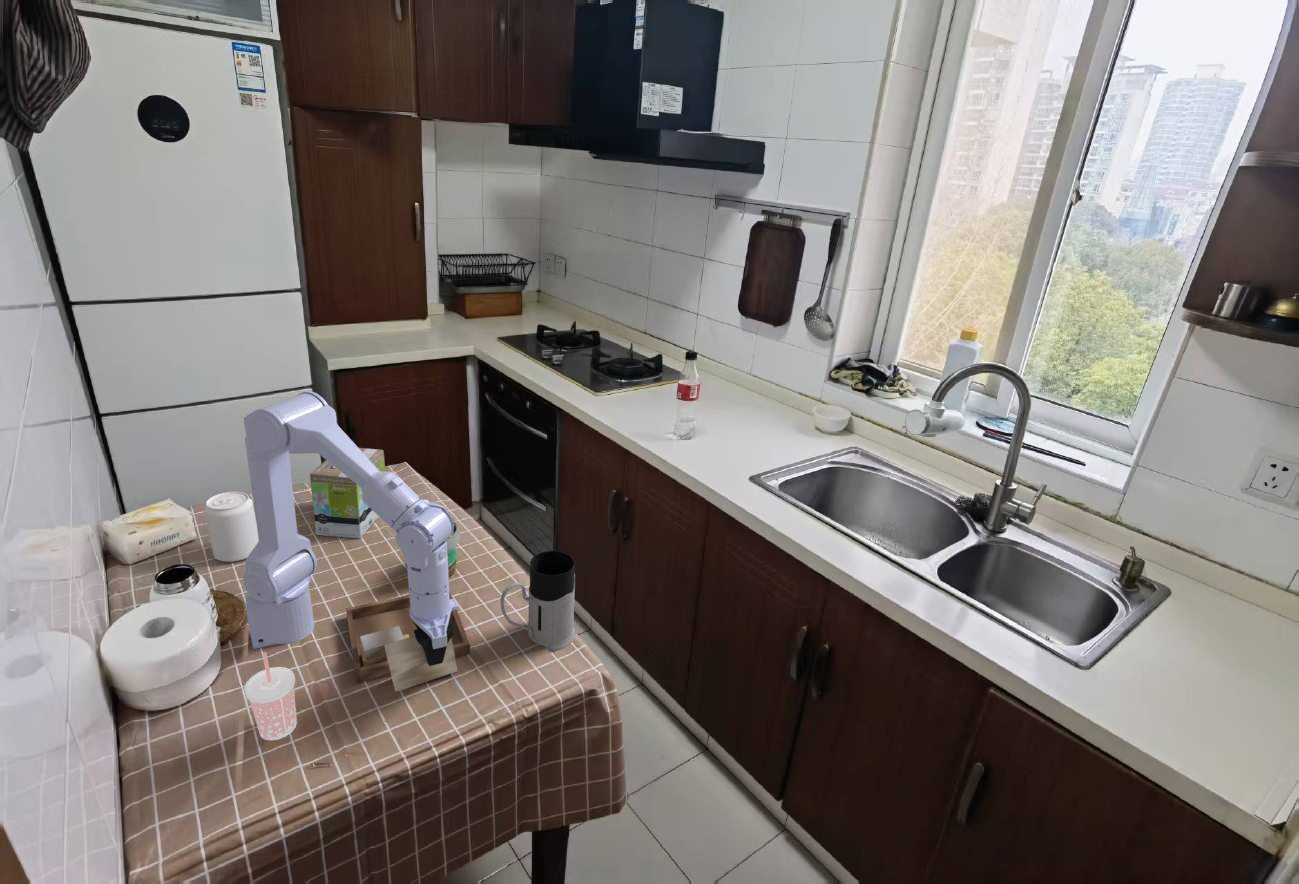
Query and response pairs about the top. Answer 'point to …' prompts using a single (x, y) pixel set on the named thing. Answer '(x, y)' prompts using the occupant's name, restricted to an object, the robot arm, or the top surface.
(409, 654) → the cream chamfered post
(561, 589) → the grey mug
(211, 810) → the top surface
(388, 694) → the top surface
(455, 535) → the food container
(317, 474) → the tea box
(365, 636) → the offcut upper
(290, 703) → the beverage cup
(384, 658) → the offcut lower
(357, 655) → the crate
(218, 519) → the beverage can
